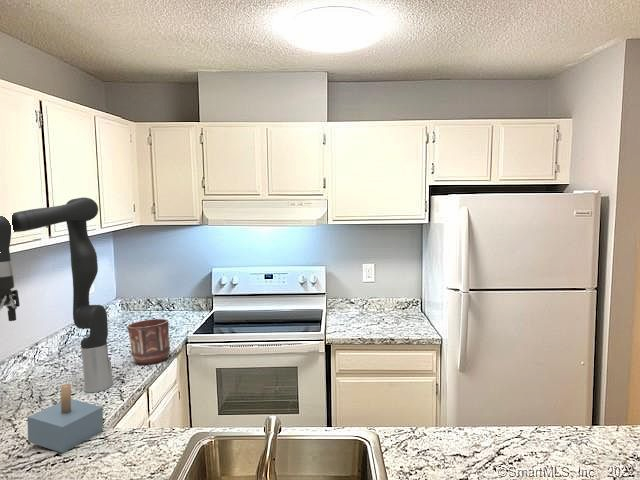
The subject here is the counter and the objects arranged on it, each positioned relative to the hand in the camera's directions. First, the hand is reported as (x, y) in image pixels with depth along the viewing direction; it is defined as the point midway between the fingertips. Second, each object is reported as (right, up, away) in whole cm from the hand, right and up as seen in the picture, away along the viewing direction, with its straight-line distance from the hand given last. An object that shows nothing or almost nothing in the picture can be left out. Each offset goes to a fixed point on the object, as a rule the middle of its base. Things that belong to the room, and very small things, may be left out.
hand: (4, 323), depth 157 cm
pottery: (+27, -29, +61) cm, 73 cm away
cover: (+30, -31, -17) cm, 46 cm away
